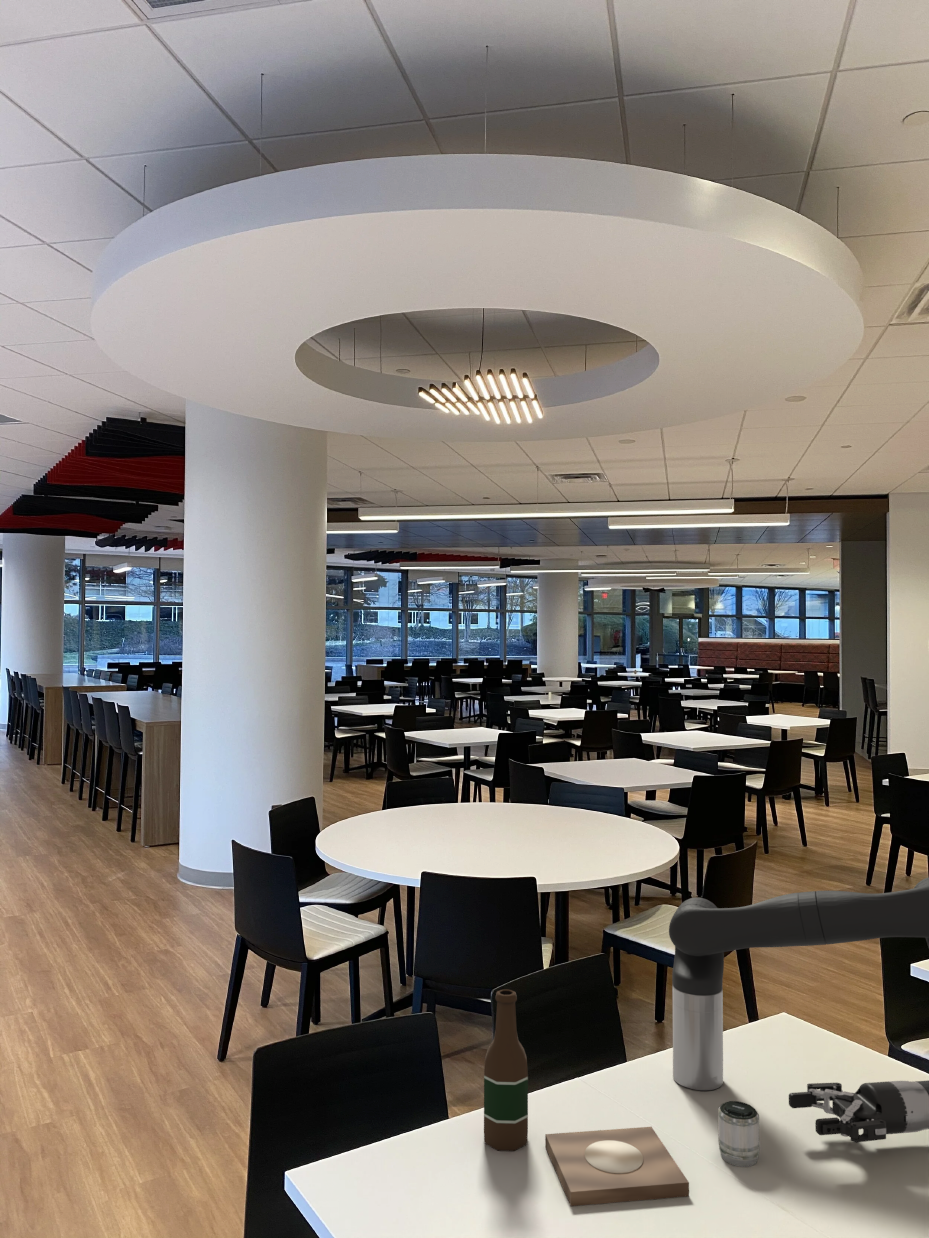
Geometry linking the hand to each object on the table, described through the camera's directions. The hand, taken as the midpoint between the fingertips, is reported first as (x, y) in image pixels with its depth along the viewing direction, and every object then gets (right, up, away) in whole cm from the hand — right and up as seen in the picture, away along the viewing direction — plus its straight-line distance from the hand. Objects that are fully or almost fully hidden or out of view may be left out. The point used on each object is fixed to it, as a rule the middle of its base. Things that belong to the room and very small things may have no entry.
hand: (802, 1113), depth 146 cm
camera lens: (-11, -6, -2) cm, 13 cm away
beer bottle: (-48, -6, +3) cm, 48 cm away
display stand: (-32, -6, -6) cm, 33 cm away
